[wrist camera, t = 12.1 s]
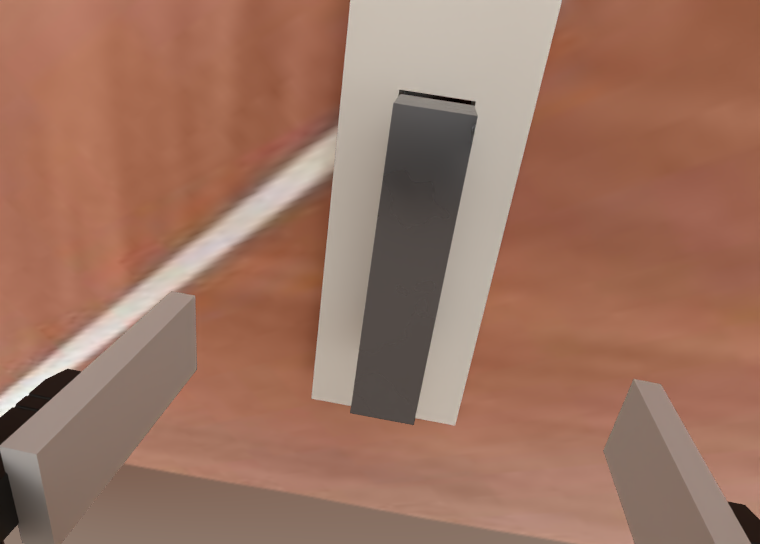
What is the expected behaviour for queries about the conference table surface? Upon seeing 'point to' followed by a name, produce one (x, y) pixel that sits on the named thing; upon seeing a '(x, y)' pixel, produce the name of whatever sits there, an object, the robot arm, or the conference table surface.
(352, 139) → the white slotted block
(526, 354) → the conference table surface
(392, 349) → the dark grey u-shaped bracket
